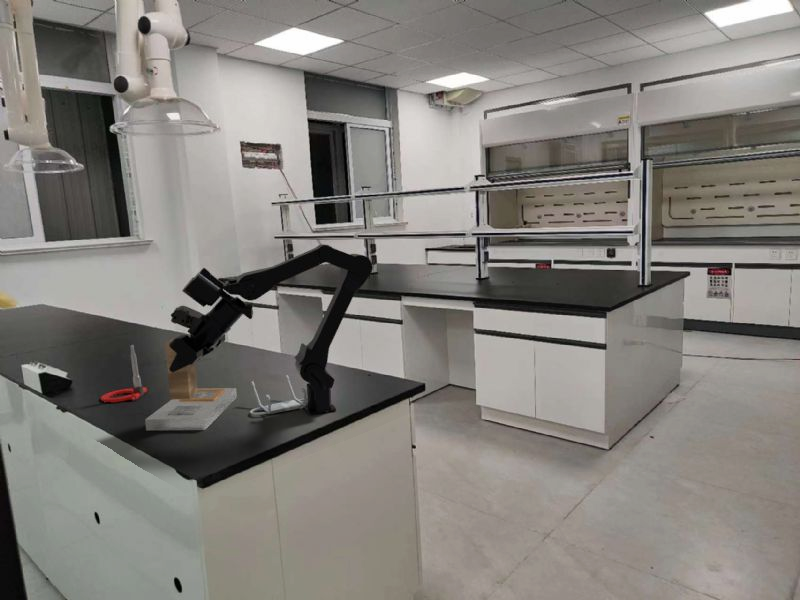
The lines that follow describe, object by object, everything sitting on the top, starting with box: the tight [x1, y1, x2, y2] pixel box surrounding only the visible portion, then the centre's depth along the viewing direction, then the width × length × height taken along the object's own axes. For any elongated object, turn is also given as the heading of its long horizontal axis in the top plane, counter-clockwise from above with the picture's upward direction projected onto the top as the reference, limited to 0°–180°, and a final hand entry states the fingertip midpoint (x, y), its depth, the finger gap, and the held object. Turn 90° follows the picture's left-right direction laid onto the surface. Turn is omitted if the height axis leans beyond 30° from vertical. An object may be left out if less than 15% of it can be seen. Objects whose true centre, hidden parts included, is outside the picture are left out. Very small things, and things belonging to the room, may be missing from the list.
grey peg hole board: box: [144, 387, 238, 431], centre depth 131 cm, size 22×13×3 cm, turn 179°
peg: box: [164, 337, 198, 400], centre depth 124 cm, size 4×4×13 cm
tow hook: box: [100, 344, 148, 403], centre depth 143 cm, size 9×14×10 cm
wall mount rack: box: [249, 374, 308, 416], centre depth 134 cm, size 16×14×6 cm
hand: (175, 367), depth 124 cm, fingers closed on peg, 4 cm apart
